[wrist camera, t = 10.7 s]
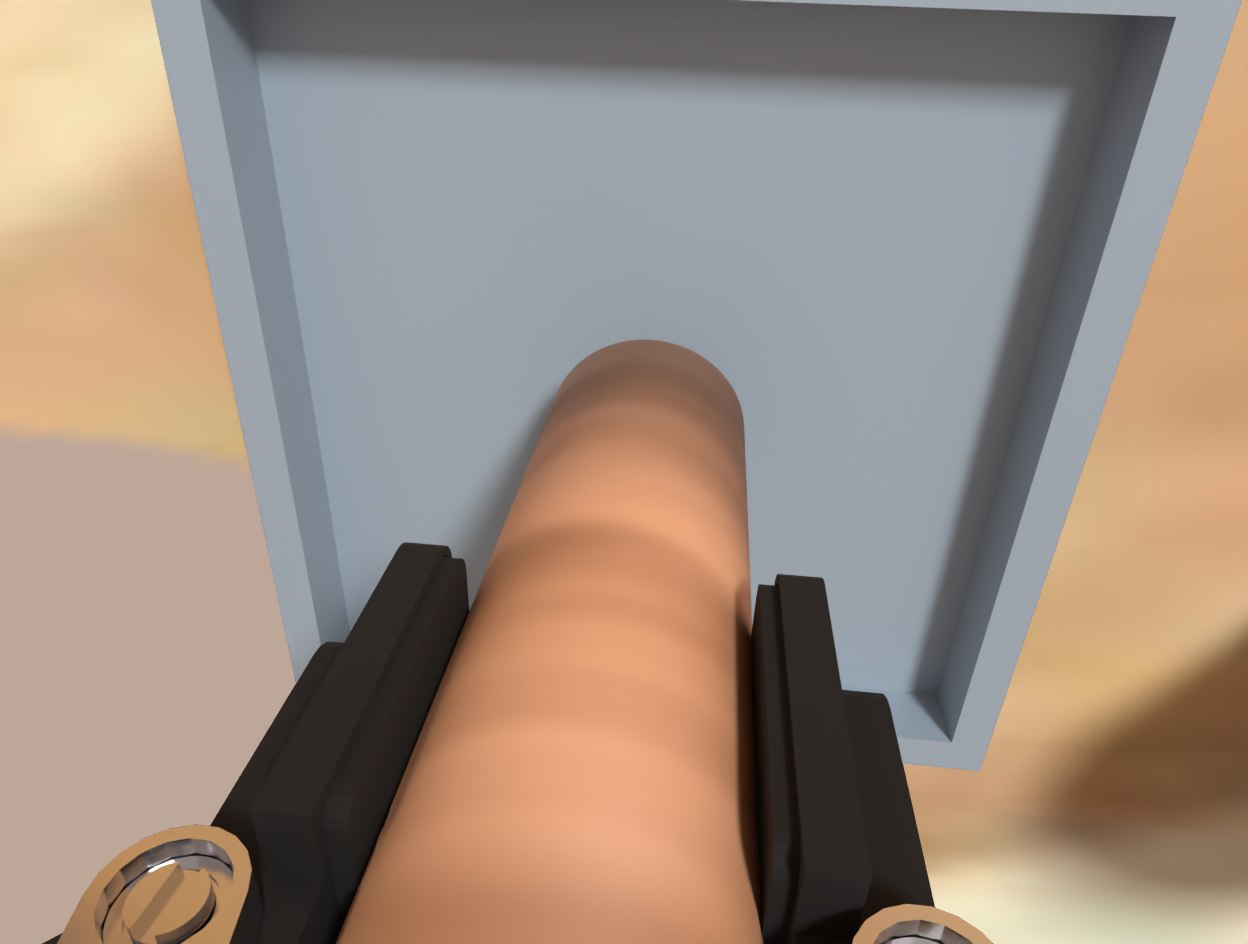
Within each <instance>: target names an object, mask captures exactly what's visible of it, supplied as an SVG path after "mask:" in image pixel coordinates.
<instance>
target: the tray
mask: <svg viewBox="0 0 1248 944" xmlns="http://www.w3.org/2000/svg"><path fill="white" fill-rule="evenodd" d="M1241 2H1242V0H151V3H152V7H153V12H154V17H155V22H156V26H157V31H158V36H159V40H160V45H161V50H162V55H163V59H164V64H165V69H166V73H167V78H168V83H169V87H170V92H171V97H172V102H173V106H174V111H175V116H176V120H177V125H178V130H179V135H180V139H181V144H182V149H183V153H184V158H185V163H186V168H187V172H188V177H189V182H190V186H191V191H192V196H193V201H194V205H195V210H196V215H197V219H198V224H199V229H200V234H201V238H202V243H203V248H204V252H205V257H206V262H207V267H208V271H209V276H210V281H211V285H212V290H213V295H214V299H215V304H216V309H217V314H218V318H219V323H220V328H221V332H222V337H223V342H224V347H225V351H226V356H227V361H228V365H229V370H230V375H231V380H232V384H233V389H234V394H235V398H236V403H237V408H238V413H239V417H240V422H241V427H242V431H243V436H244V441H245V446H246V450H247V455H248V460H249V464H250V469H251V474H252V478H253V482H254V488H255V493H256V497H257V502H258V507H259V511H260V516H261V521H262V525H263V530H264V535H265V540H266V544H267V549H268V554H269V558H270V563H271V568H272V572H273V577H274V582H275V586H276V592H277V596H278V601H279V605H280V610H281V615H282V619H283V624H284V629H285V634H286V639H287V643H288V648H289V653H290V658H291V662H292V667H293V672H294V676H295V681H296V683H297V681H298V680H299V678H300V676H301V675H302V673H303V671H304V670H305V668H306V666H307V665H308V663H309V661H310V660H311V658H312V656H313V655H314V653H315V652H316V651H317V650H318V648H319V647H320V646H321V645H322V644H324V643H326V642H327V641H330V642H341V643H344V642H345V640H346V639H347V637H348V635H349V633H350V632H351V630H352V628H353V626H354V625H355V623H356V621H357V619H358V618H359V616H360V614H361V612H362V611H363V609H364V607H365V605H366V603H367V602H368V600H369V598H370V596H371V595H372V593H373V591H374V589H375V588H376V586H377V584H378V582H379V581H380V579H381V577H382V575H383V574H384V572H385V570H386V568H387V567H388V565H389V563H390V561H391V560H392V558H393V556H394V554H395V553H396V551H397V549H398V548H399V546H400V545H401V544H402V543H404V542H409V543H421V544H433V545H445V546H448V547H449V548H450V550H451V553H452V558H461V559H463V560H464V561H465V564H466V573H467V586H468V599H469V611H470V609H471V606H472V604H473V601H474V599H475V596H476V594H477V591H478V589H479V586H480V584H481V581H482V579H483V576H484V574H485V571H486V569H487V566H488V564H489V561H490V559H491V556H492V554H493V551H494V549H495V546H496V544H497V541H498V539H499V536H500V534H501V531H502V529H503V526H504V524H505V521H506V519H507V516H508V514H509V511H510V509H511V507H512V504H513V502H514V499H515V497H516V494H517V492H518V489H519V487H520V484H521V482H522V479H523V477H524V474H525V472H526V469H527V467H528V464H529V462H530V459H531V457H532V454H533V452H534V449H535V447H536V444H537V442H538V439H539V437H540V434H541V432H542V429H543V427H544V424H545V422H546V419H547V417H548V414H549V412H550V410H551V407H552V405H553V402H554V400H555V397H556V395H557V392H558V390H559V388H560V386H561V384H562V383H563V381H564V379H565V378H566V377H567V375H568V374H569V373H570V371H571V370H572V369H573V368H574V367H575V366H576V365H577V364H578V363H579V362H581V361H582V360H583V359H585V358H586V357H587V356H589V355H590V354H592V353H594V352H596V351H597V350H599V349H601V348H604V347H607V346H609V345H612V344H615V343H619V342H623V341H630V340H658V341H665V342H669V343H673V344H677V345H680V346H682V347H685V348H687V349H690V350H692V351H693V352H695V353H697V354H699V355H701V356H702V357H704V358H705V359H706V360H708V361H709V362H711V363H712V364H713V365H714V366H715V367H716V368H717V369H718V370H719V371H720V372H721V373H722V374H723V375H724V376H725V378H726V379H727V380H728V381H729V383H730V384H731V386H732V388H733V389H734V391H735V393H736V395H737V398H738V400H739V402H740V406H741V409H742V413H743V420H744V433H745V458H746V483H747V508H748V533H749V557H750V582H751V607H752V625H753V618H754V610H755V603H756V596H757V589H758V585H759V584H763V585H774V583H775V579H776V575H777V574H786V575H798V576H810V577H821V578H823V579H824V582H825V587H826V593H827V600H828V606H829V612H830V618H831V624H832V631H833V637H834V643H835V649H836V655H837V662H838V668H839V674H840V680H841V686H842V690H851V691H862V692H872V693H883V694H884V695H885V696H886V698H887V699H888V702H889V706H890V709H891V713H892V717H893V722H894V726H895V731H896V735H897V740H898V744H899V749H900V753H901V758H902V762H903V764H912V765H922V766H932V767H942V768H952V769H963V770H973V771H980V769H981V766H982V764H983V761H984V758H985V755H986V752H987V749H988V746H989V743H990V740H991V737H992V734H993V731H994V728H995V725H996V722H997V719H998V716H999V714H1000V711H1001V708H1002V705H1003V702H1004V699H1005V696H1006V693H1007V690H1008V687H1009V684H1010V681H1011V678H1012V675H1013V672H1014V669H1015V666H1016V664H1017V661H1018V658H1019V655H1020V652H1021V649H1022V646H1023V643H1024V640H1025V637H1026V634H1027V631H1028V628H1029V625H1030V622H1031V619H1032V616H1033V614H1034V611H1035V608H1036V605H1037V602H1038V599H1039V596H1040V593H1041V590H1042V587H1043V584H1044V581H1045V578H1046V575H1047V572H1048V569H1049V566H1050V564H1051V561H1052V558H1053V555H1054V552H1055V549H1056V546H1057V543H1058V540H1059V537H1060V534H1061V531H1062V528H1063V525H1064V522H1065V519H1066V516H1067V514H1068V511H1069V508H1070V505H1071V502H1072V499H1073V496H1074V493H1075V490H1076V487H1077V484H1078V481H1079V478H1080V475H1081V472H1082V469H1083V466H1084V464H1085V461H1086V458H1087V455H1088V452H1089V449H1090V446H1091V443H1092V440H1093V437H1094V434H1095V431H1096V428H1097V425H1098V422H1099V419H1100V416H1101V414H1102V411H1103V408H1104V405H1105V402H1106V399H1107V396H1108V393H1109V390H1110V387H1111V384H1112V381H1113V378H1114V375H1115V372H1116V369H1117V366H1118V364H1119V361H1120V358H1121V355H1122V352H1123V349H1124V346H1125V343H1126V340H1127V337H1128V334H1129V331H1130V328H1131V325H1132V322H1133V319H1134V316H1135V314H1136V311H1137V308H1138V305H1139V302H1140V299H1141V296H1142V293H1143V290H1144V287H1145V284H1146V281H1147V278H1148V275H1149V272H1150V269H1151V266H1152V264H1153V261H1154V258H1155V255H1156V252H1157V249H1158V246H1159V243H1160V240H1161V237H1162V234H1163V231H1164V228H1165V225H1166V222H1167V219H1168V216H1169V214H1170V211H1171V208H1172V205H1173V202H1174V199H1175V196H1176V193H1177V190H1178V187H1179V184H1180V181H1181V178H1182V175H1183V172H1184V169H1185V166H1186V164H1187V161H1188V158H1189V155H1190V152H1191V149H1192V146H1193V143H1194V140H1195V137H1196V134H1197V131H1198V128H1199V125H1200V122H1201V119H1202V116H1203V114H1204V111H1205V108H1206V105H1207V102H1208V99H1209V96H1210V93H1211V90H1212V87H1213V84H1214V81H1215V78H1216V75H1217V72H1218V69H1219V66H1220V64H1221V61H1222V58H1223V55H1224V52H1225V49H1226V46H1227V43H1228V40H1229V37H1230V34H1231V31H1232V28H1233V25H1234V22H1235V19H1236V16H1237V14H1238V11H1239V8H1240V5H1241Z"/></svg>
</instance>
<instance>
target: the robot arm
mask: <svg viewBox="0 0 1248 944" xmlns="http://www.w3.org/2000/svg"><path fill="white" fill-rule="evenodd" d="M468 613H469V599H468V586H467V573H466V564H465V561H464V560H463V559H461V558H452V553H451V550H450V548H449V547H448V546H445V545H433V544H421V543H409V542H404V543H402V544H401V545H400V546H399V548H398V549H397V551H396V553H395V554H394V556H393V558H392V560H391V561H390V563H389V565H388V567H387V568H386V570H385V572H384V574H383V575H382V577H381V579H380V581H379V582H378V584H377V586H376V588H375V589H374V591H373V593H372V595H371V596H370V598H369V600H368V602H367V603H366V605H365V607H364V609H363V611H362V612H361V614H360V616H359V618H358V619H357V621H356V623H355V625H354V626H353V628H352V630H351V632H350V633H349V635H348V637H347V639H346V640H345V642H344V643H341V642H330V641H327V642H326V643H324V644H322V645H321V646H320V647H319V648H318V650H317V651H316V652H315V653H314V655H313V656H312V658H311V660H310V661H309V663H308V665H307V666H306V668H305V670H304V671H303V673H302V675H301V676H300V678H299V680H298V681H297V683H296V685H295V686H294V688H293V690H292V691H291V693H290V694H289V696H288V698H287V699H286V701H285V703H284V704H283V706H282V708H281V709H280V711H279V713H278V714H277V716H276V718H275V719H274V721H273V723H272V725H271V726H270V728H269V729H268V731H267V733H266V734H265V736H264V737H263V739H262V741H261V742H260V744H259V746H258V747H257V749H256V751H255V752H254V754H253V756H252V757H251V759H250V761H249V762H248V764H247V766H246V768H245V769H244V771H243V772H242V774H241V776H240V777H239V779H238V781H237V782H236V784H235V785H234V787H233V789H232V791H231V792H230V794H229V795H228V797H227V799H226V800H225V802H224V804H223V805H222V807H221V809H220V810H219V812H218V814H217V815H216V817H215V819H214V820H213V822H212V824H211V825H210V826H204V825H190V826H183V827H176V828H171V829H168V830H165V831H162V832H160V833H157V834H154V835H152V836H149V837H146V838H144V839H143V840H141V841H139V842H138V843H136V844H134V845H133V846H131V847H129V848H128V849H126V850H125V851H123V852H121V853H120V854H119V855H118V856H116V857H115V858H114V859H113V860H112V861H111V862H110V863H109V864H108V865H107V866H105V867H104V868H103V869H102V870H101V871H100V872H99V873H98V874H97V876H96V877H95V879H94V880H93V881H92V883H91V884H90V886H89V887H88V889H87V890H86V891H85V893H84V894H83V896H82V898H81V899H80V901H79V903H78V905H77V907H76V909H75V911H74V913H73V915H72V916H71V919H70V920H69V922H68V924H67V926H66V928H65V930H64V931H63V933H62V934H60V935H58V936H56V937H54V938H52V939H51V940H48V941H46V942H45V943H43V944H336V942H337V939H338V937H339V934H340V932H341V929H342V927H343V924H344V922H345V919H346V917H347V914H348V912H349V910H350V907H351V905H352V902H353V900H354V897H355V895H356V892H357V890H358V887H359V885H360V882H361V880H362V877H363V875H364V872H365V870H366V867H367V865H368V862H369V860H370V857H371V855H372V852H373V850H374V847H375V845H376V842H377V840H378V837H379V835H380V832H381V830H382V827H383V825H384V822H385V820H386V817H387V815H388V812H389V810H390V808H391V805H392V803H393V800H394V798H395V795H396V793H397V790H398V788H399V785H400V783H401V780H402V778H403V775H404V773H405V770H406V768H407V765H408V763H409V760H410V758H411V755H412V753H413V750H414V748H415V745H416V743H417V740H418V738H419V735H420V733H421V730H422V728H423V725H424V723H425V720H426V718H427V715H428V713H429V711H430V708H431V706H432V703H433V701H434V698H435V696H436V693H437V691H438V688H439V686H440V683H441V681H442V678H443V676H444V673H445V671H446V668H447V666H448V663H449V661H450V658H451V656H452V653H453V651H454V648H455V646H456V643H457V641H458V638H459V636H460V633H461V631H462V628H463V626H464V623H465V621H466V618H467V616H468ZM751 655H752V682H753V709H754V736H755V763H756V790H757V817H758V844H759V871H760V898H761V925H762V938H763V942H764V944H993V943H992V942H991V941H990V940H989V939H988V938H987V937H986V936H985V935H984V934H983V933H982V932H981V931H979V930H978V929H976V928H975V927H973V926H972V925H970V924H969V923H967V922H966V921H964V920H963V919H961V918H960V917H958V916H956V915H953V914H950V913H948V912H945V911H942V910H940V909H937V908H935V906H934V901H933V897H932V892H931V888H930V883H929V879H928V874H927V870H926V865H925V861H924V856H923V852H922V847H921V843H920V838H919V834H918V829H917V825H916V820H915V816H914V812H913V807H912V803H911V798H910V794H909V789H908V785H907V780H906V776H905V771H904V767H903V762H902V758H901V753H900V749H899V744H898V740H897V735H896V731H895V726H894V722H893V717H892V713H891V709H890V706H889V702H888V699H887V698H886V696H885V695H884V694H883V693H872V692H862V691H851V690H842V686H841V680H840V674H839V668H838V662H837V655H836V649H835V643H834V637H833V631H832V624H831V618H830V612H829V606H828V600H827V593H826V587H825V582H824V579H823V578H821V577H810V576H798V575H786V574H777V575H776V579H775V583H774V585H763V584H759V585H758V589H757V596H756V603H755V610H754V618H753V625H752V633H751Z"/></svg>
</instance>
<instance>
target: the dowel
mask: <svg viewBox="0 0 1248 944" xmlns="http://www.w3.org/2000/svg"><path fill="white" fill-rule="evenodd" d="M751 633H752V607H751V582H750V557H749V533H748V508H747V483H746V458H745V433H744V420H743V413H742V409H741V406H740V402H739V400H738V398H737V395H736V393H735V391H734V389H733V388H732V386H731V384H730V383H729V381H728V380H727V379H726V378H725V376H724V375H723V374H722V373H721V372H720V371H719V370H718V369H717V368H716V367H715V366H714V365H713V364H712V363H711V362H709V361H708V360H706V359H705V358H704V357H702V356H701V355H699V354H697V353H695V352H693V351H692V350H690V349H687V348H685V347H682V346H680V345H677V344H673V343H669V342H665V341H658V340H630V341H623V342H619V343H615V344H612V345H609V346H607V347H604V348H601V349H599V350H597V351H596V352H594V353H592V354H590V355H589V356H587V357H586V358H585V359H583V360H582V361H581V362H579V363H578V364H577V365H576V366H575V367H574V368H573V369H572V370H571V371H570V373H569V374H568V375H567V377H566V378H565V379H564V381H563V383H562V384H561V386H560V388H559V390H558V392H557V395H556V397H555V400H554V402H553V405H552V407H551V410H550V412H549V414H548V417H547V419H546V422H545V424H544V427H543V429H542V432H541V434H540V437H539V439H538V442H537V444H536V447H535V449H534V452H533V454H532V457H531V459H530V462H529V464H528V467H527V469H526V472H525V474H524V477H523V479H522V482H521V484H520V487H519V489H518V492H517V494H516V497H515V499H514V502H513V504H512V507H511V509H510V511H509V514H508V516H507V519H506V521H505V524H504V526H503V529H502V531H501V534H500V536H499V539H498V541H497V544H496V546H495V549H494V551H493V554H492V556H491V559H490V561H489V564H488V566H487V569H486V571H485V574H484V576H483V579H482V581H481V584H480V586H479V589H478V591H477V594H476V596H475V599H474V601H473V604H472V606H471V609H470V611H469V613H468V616H467V618H466V621H465V623H464V626H463V628H462V631H461V633H460V636H459V638H458V641H457V643H456V646H455V648H454V651H453V653H452V656H451V658H450V661H449V663H448V666H447V668H446V671H445V673H444V676H443V678H442V681H441V683H440V686H439V688H438V691H437V693H436V696H435V698H434V701H433V703H432V706H431V708H430V711H429V713H428V715H427V718H426V720H425V723H424V725H423V728H422V730H421V733H420V735H419V738H418V740H417V743H416V745H415V748H414V750H413V753H412V755H411V758H410V760H409V763H408V765H407V768H406V770H405V773H404V775H403V778H402V780H401V783H400V785H399V788H398V790H397V793H396V795H395V798H394V800H393V803H392V805H391V808H390V810H389V812H388V815H387V817H386V820H385V822H384V825H383V827H382V830H381V832H380V835H379V837H378V840H377V842H376V845H375V847H374V850H373V852H372V855H371V857H370V860H369V862H368V865H367V867H366V870H365V872H364V875H363V877H362V880H361V882H360V885H359V887H358V890H357V892H356V895H355V897H354V900H353V902H352V905H351V907H350V910H349V912H348V914H347V917H346V919H345V922H344V924H343V927H342V929H341V932H340V934H339V937H338V939H337V942H336V944H764V942H763V938H762V925H761V898H760V871H759V844H758V817H757V790H756V763H755V736H754V709H753V682H752V655H751Z"/></svg>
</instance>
